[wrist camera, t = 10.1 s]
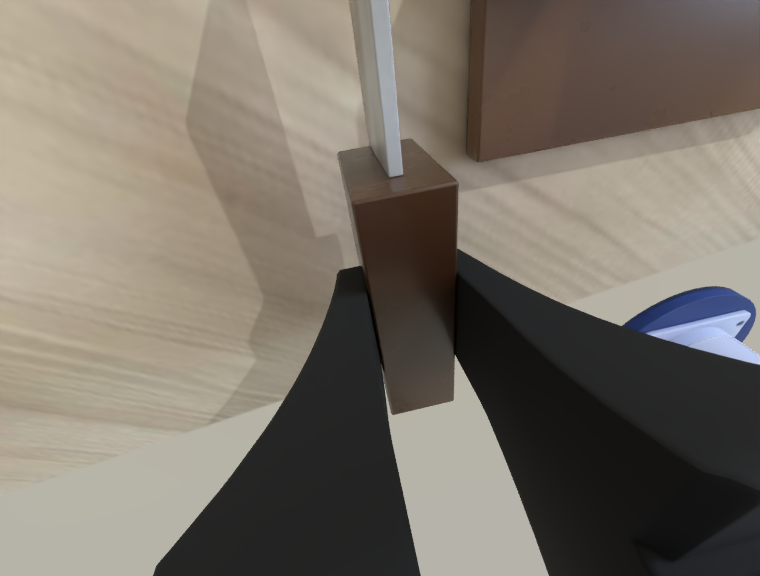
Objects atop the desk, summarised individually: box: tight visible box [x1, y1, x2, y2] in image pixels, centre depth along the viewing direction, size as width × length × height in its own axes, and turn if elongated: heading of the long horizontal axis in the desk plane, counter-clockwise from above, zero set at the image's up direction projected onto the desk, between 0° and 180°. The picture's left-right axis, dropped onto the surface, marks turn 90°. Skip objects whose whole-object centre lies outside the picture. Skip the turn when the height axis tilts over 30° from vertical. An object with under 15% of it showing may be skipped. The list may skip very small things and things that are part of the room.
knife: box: [338, 0, 458, 415], centre depth 7 cm, size 15×2×3 cm, turn 9°
